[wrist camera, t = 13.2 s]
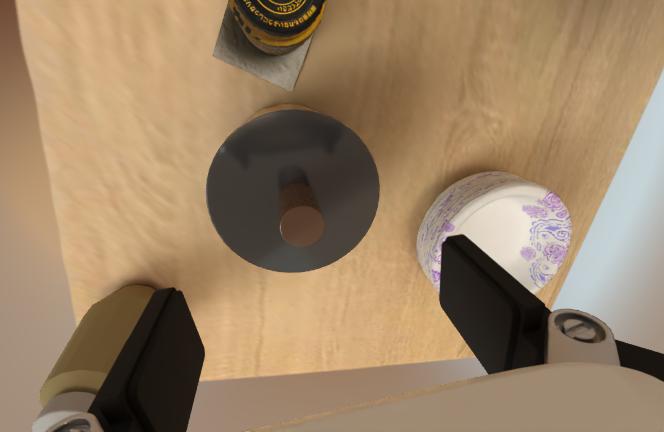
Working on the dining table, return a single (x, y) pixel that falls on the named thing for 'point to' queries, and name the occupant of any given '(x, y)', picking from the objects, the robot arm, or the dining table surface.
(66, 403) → the squeeze bottle
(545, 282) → the paper bowls
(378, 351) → the dining table surface
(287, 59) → the condiment
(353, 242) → the lid
